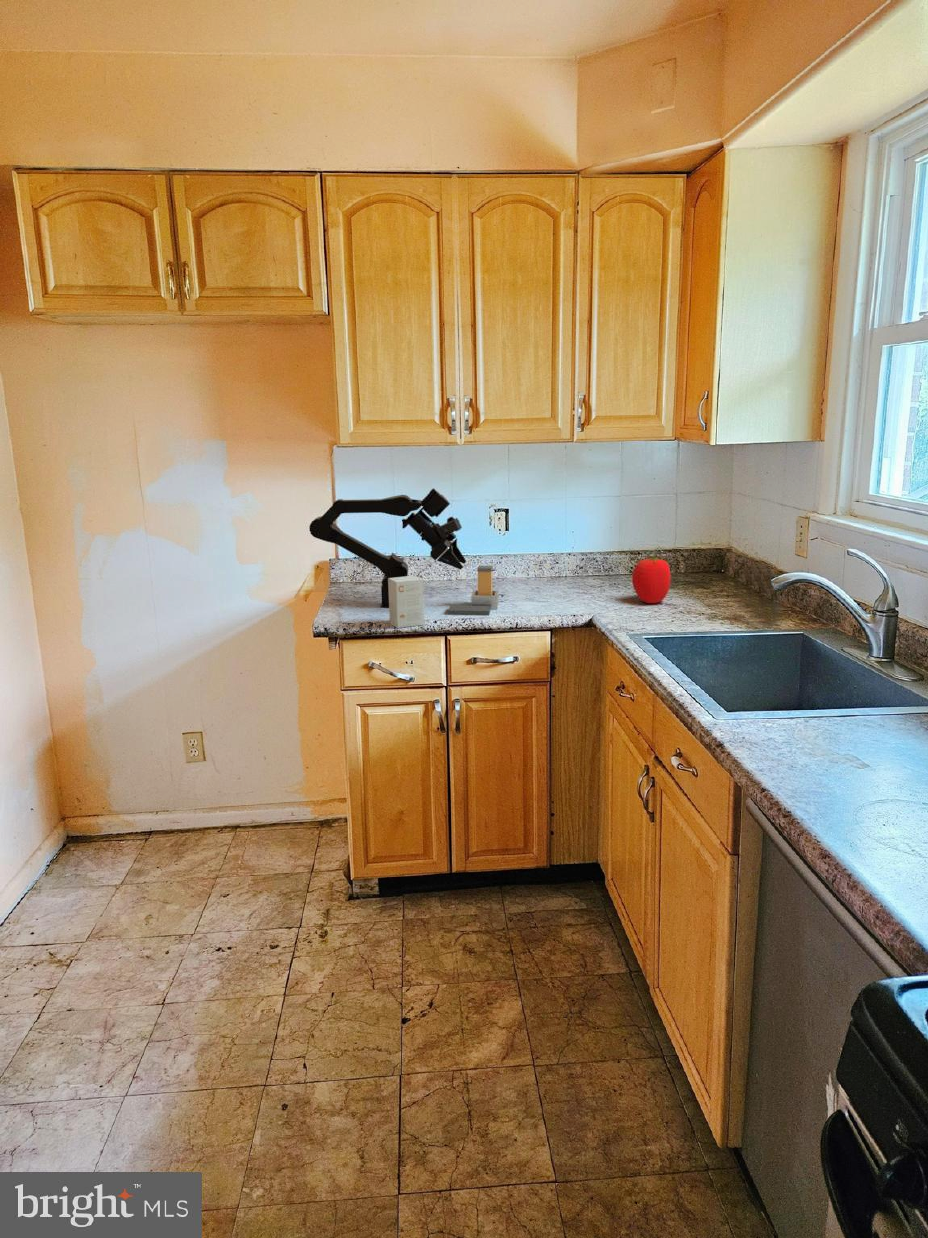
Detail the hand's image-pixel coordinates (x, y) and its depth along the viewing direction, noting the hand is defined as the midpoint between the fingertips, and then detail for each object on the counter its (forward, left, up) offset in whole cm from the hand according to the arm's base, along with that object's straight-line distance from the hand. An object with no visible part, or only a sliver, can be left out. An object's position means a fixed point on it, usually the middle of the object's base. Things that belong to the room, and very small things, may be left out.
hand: (463, 565), depth 250 cm
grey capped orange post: (+6, 0, -12) cm, 14 cm away
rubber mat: (+2, -8, -12) cm, 15 cm away
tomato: (+56, +9, -13) cm, 58 cm away
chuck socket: (+6, 0, -12) cm, 14 cm away
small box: (-14, -23, -13) cm, 30 cm away
